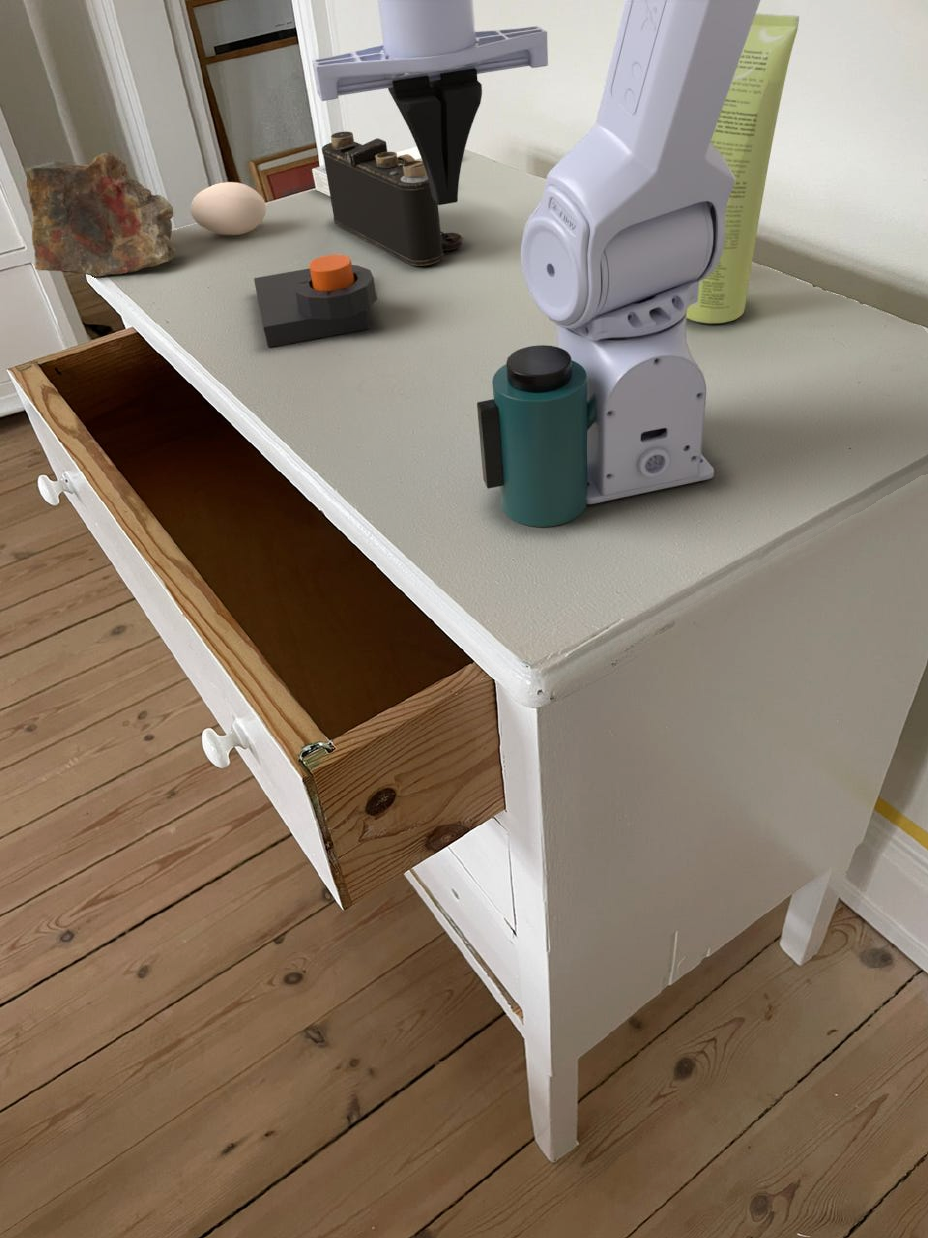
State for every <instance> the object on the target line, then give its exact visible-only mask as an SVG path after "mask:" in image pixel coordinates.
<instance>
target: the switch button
mask: <svg viewBox="0 0 928 1238" xmlns="http://www.w3.org/2000/svg"><path fill="white" fill-rule="evenodd" d="M352 265H353V264H352V259H351V257H349V256H348V255H344V254H327V255H322V256H319V257H317V258H315V259H313V260H312V261H311V262H310V263H309V267H308V268H310V273H311V278H312V283H313V288H314V289H315V290H319V291H333V290H338V289H343V288H346V287H348V286H350V285H352V284H354V275H353V269H352Z"/></svg>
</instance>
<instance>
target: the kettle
mask: <svg viewBox="0 0 928 1238" xmlns="http://www.w3.org/2000/svg"><path fill="white" fill-rule="evenodd" d="M492 396H493V398H492V399H487V400H482V401H478V402H477V403H476V410H477V422H478V433H479V444H480V456H481V457H480V458H481V464H482V465H481V466H482V467H481V468H482V478H483V482H484V484H485V486H486V488H487V489H488V490H489V489H493V488H499V491H500V492H499V493H500V503H501V504H500V505H501V509H502V511H503V512H504V514H505V515H506V516H507V517H508V519H510V520H512V521H514V522H516V523H518V524H521V525H525V526H528V527H536V528H549V527H556V526H561V525H564V524H566V523H568V522H569V523H570V522H572V521H573V520H574V519H576V518H578V517H579V516H580V515H582V513H583V512H584V510H585V509H586V508H587V505H588V504H587V503H586V497H587V430H588V429H589V428H590V427H591V426H592V424H593V423H594V422H595V420H596V414H597V411H596V398H595V395H594V394H592V396H591V397H590V398H589V400H588V401H587V373H586V371H585V369H584V368H583V367H582V366H581V365H580V364H579V363H577V362H575V361H573V360H572V359H571V356H570V354H569V353H568V352H567V351H565V350H564V349H561V348H558V346H553V345H547V344H546V345H544V344H542V345H541V344H539V345H537V344H536V345H531V346H525V347H523V348H520V349H517V350H515V351H513V352H512V353H510V355H508V357H507V359H506V363H504V364H503V365H501V367H500V368H498V369H497V370H496V371H495V373H494V374H493V376H492Z"/></svg>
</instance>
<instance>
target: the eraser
mask: <svg viewBox="0 0 928 1238" xmlns="http://www.w3.org/2000/svg"><path fill="white" fill-rule="evenodd" d="M396 153H397V157H398V156H402V155H405V154H408V155H410V156H412V157H413V158H414V159H415V161H422V158H421V156H420V153H419V151H418V148H417V146H413V147H411V148H407V149H404V150H399V151H397V152H396Z"/></svg>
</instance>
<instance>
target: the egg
mask: <svg viewBox="0 0 928 1238" xmlns="http://www.w3.org/2000/svg"><path fill="white" fill-rule="evenodd" d="M266 213H267V205H266V202H265V200H264V198H263V197H262V195H261V193H259V192H258V191H256V190H255V189H254V188H252V187H251V186H249V185H247V184H245V183H240V182H236V181H235V182H234V181H227V182H219V183H215V184H212V185H210V186H208V187H206V188H204V189H202V190H201V191H200V192H198V193H197V194H196V195H195V196H194V197H193V199H192V202H191V203H190V214H191V216H192V218H193V219H194V221H195V222H196V223H197V224H198V225H199V226H200V227H202V228H204V229H206V230H207V231H209V232H213V233H214V234H218V235H225V236H239V235H245V234H247V233H250V232H252V231H253V230H254V229H256V228H257V227H259V226H260V224H261V223H263V220H264V218H265V216H266Z"/></svg>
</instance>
